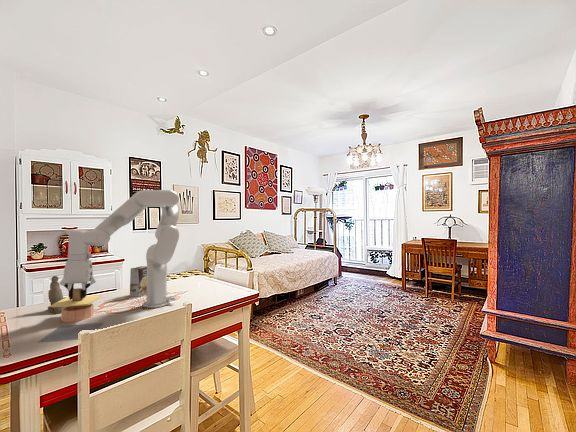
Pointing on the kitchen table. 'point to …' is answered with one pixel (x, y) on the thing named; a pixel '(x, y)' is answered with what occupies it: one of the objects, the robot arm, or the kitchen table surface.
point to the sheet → (78, 303)
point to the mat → (69, 332)
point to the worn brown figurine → (55, 295)
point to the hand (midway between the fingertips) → (77, 298)
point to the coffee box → (138, 281)
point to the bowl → (76, 313)
